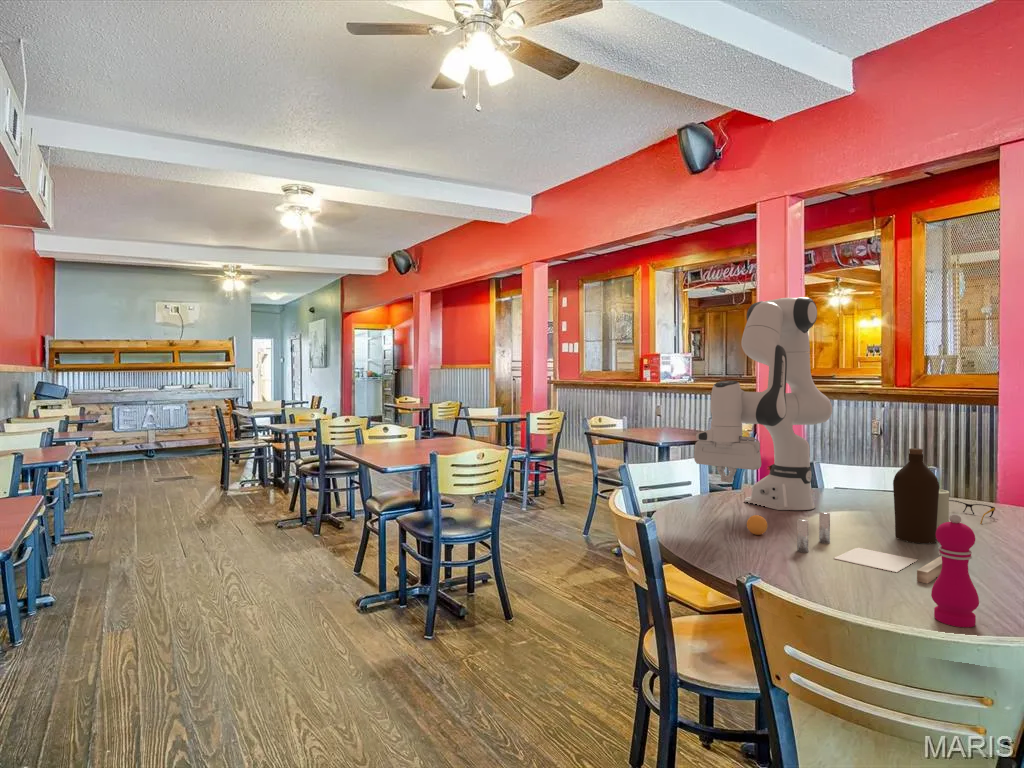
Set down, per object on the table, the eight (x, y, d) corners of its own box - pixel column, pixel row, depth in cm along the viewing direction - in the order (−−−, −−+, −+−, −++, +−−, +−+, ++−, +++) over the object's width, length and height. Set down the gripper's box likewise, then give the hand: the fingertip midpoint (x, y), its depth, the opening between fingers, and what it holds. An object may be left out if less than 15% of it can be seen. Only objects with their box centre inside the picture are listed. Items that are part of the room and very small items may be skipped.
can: (955, 534, 174) (956, 492, 174) (919, 532, 176) (919, 491, 175) (940, 526, 183) (940, 486, 183) (905, 525, 185) (906, 485, 184)
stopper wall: (916, 581, 136) (917, 570, 136) (946, 562, 148) (946, 552, 148) (927, 583, 134) (927, 572, 134) (956, 564, 147) (956, 554, 147)
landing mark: (833, 558, 152) (833, 558, 152) (857, 548, 161) (857, 547, 161) (896, 572, 141) (896, 571, 141) (918, 560, 150) (918, 559, 150)
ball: (742, 534, 176) (743, 515, 175) (753, 530, 179) (753, 512, 179) (761, 538, 171) (761, 518, 171) (771, 534, 175) (771, 515, 175)
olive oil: (923, 546, 162) (924, 452, 161) (884, 537, 171) (884, 448, 171) (947, 541, 167) (948, 449, 166) (907, 532, 176) (908, 445, 176)
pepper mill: (931, 610, 119) (931, 508, 119) (977, 618, 115) (978, 512, 115) (930, 623, 113) (931, 515, 113) (980, 632, 109) (980, 520, 109)
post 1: (795, 550, 159) (795, 520, 159) (800, 549, 161) (800, 518, 160) (805, 553, 157) (805, 522, 157) (810, 551, 159) (810, 520, 158)
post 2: (817, 542, 167) (817, 512, 167) (821, 540, 169) (821, 511, 168) (827, 544, 165) (827, 514, 165) (831, 542, 167) (831, 513, 166)
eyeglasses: (996, 518, 194) (996, 506, 193) (980, 526, 185) (981, 512, 185) (943, 510, 205) (943, 498, 205) (926, 517, 196) (926, 504, 196)
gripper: (765, 436, 176) (765, 485, 176) (702, 432, 192) (703, 477, 192) (753, 438, 172) (754, 487, 172) (691, 434, 188) (691, 479, 188)
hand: (726, 482), depth 182 cm, fingers closed
